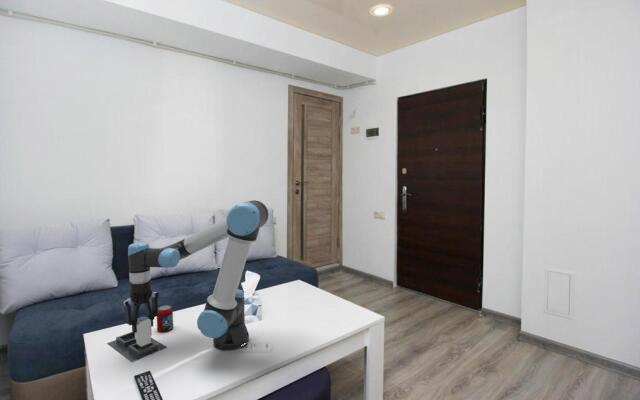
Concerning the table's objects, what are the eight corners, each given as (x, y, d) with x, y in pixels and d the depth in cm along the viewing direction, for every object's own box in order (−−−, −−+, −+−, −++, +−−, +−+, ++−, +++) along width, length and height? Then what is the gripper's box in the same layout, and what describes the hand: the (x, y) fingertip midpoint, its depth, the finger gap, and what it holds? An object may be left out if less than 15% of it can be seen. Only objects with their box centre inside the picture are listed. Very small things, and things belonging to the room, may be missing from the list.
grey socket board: (167, 350, 139) (167, 342, 138) (132, 366, 127) (131, 357, 127) (140, 334, 153) (140, 326, 153) (106, 346, 142) (106, 338, 142)
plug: (151, 342, 137) (149, 317, 136) (141, 346, 133) (139, 321, 133) (146, 339, 139) (145, 315, 138) (136, 343, 136) (135, 318, 135)
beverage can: (167, 336, 151) (166, 311, 150) (154, 335, 152) (153, 309, 151) (176, 330, 157) (175, 305, 156) (163, 328, 159) (162, 304, 158)
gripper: (156, 274, 143) (159, 327, 145) (113, 285, 130) (116, 342, 132) (165, 277, 139) (168, 331, 141) (121, 288, 125) (125, 348, 127)
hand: (143, 336), depth 136 cm, fingers closed on plug, 4 cm apart
